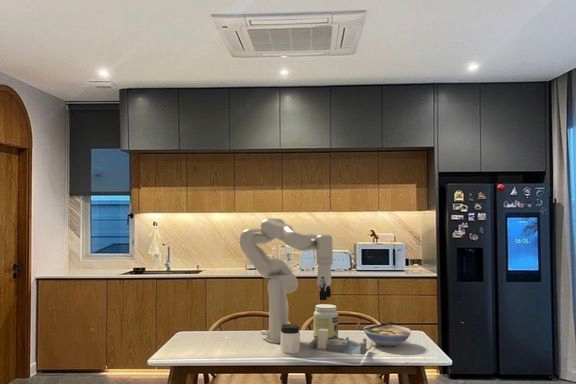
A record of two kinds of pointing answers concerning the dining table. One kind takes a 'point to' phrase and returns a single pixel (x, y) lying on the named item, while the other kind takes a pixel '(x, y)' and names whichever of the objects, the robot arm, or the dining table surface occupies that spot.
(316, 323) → the supplement tub
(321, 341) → the plug
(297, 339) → the jar
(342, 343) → the grey tiered shelf stand
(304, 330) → the dining table surface
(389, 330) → the ramen bowl
